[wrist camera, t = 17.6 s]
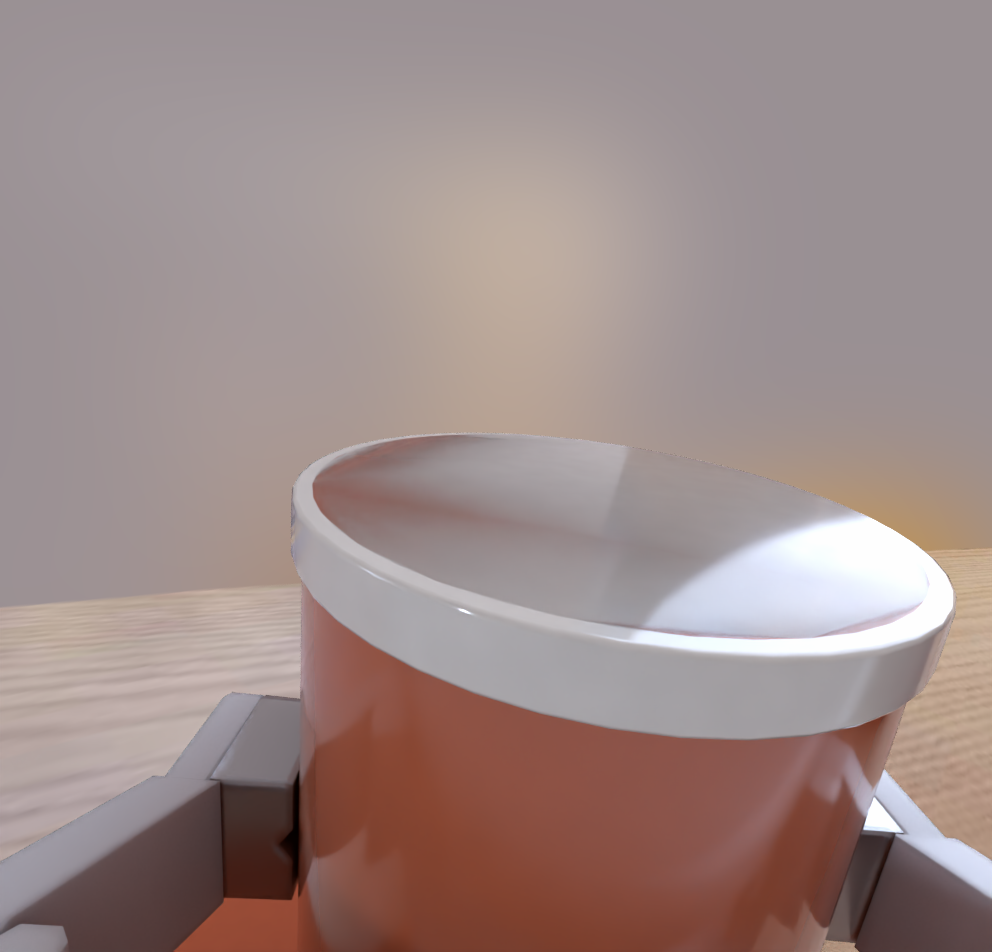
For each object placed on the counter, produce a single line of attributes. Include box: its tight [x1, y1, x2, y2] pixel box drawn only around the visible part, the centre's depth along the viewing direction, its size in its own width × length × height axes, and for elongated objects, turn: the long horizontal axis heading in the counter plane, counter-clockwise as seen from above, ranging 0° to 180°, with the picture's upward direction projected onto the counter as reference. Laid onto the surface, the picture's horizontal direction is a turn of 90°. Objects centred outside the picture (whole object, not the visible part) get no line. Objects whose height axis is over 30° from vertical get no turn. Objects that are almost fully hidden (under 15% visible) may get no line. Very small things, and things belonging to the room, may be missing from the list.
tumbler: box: [291, 433, 957, 952], centre depth 8 cm, size 7×7×10 cm
